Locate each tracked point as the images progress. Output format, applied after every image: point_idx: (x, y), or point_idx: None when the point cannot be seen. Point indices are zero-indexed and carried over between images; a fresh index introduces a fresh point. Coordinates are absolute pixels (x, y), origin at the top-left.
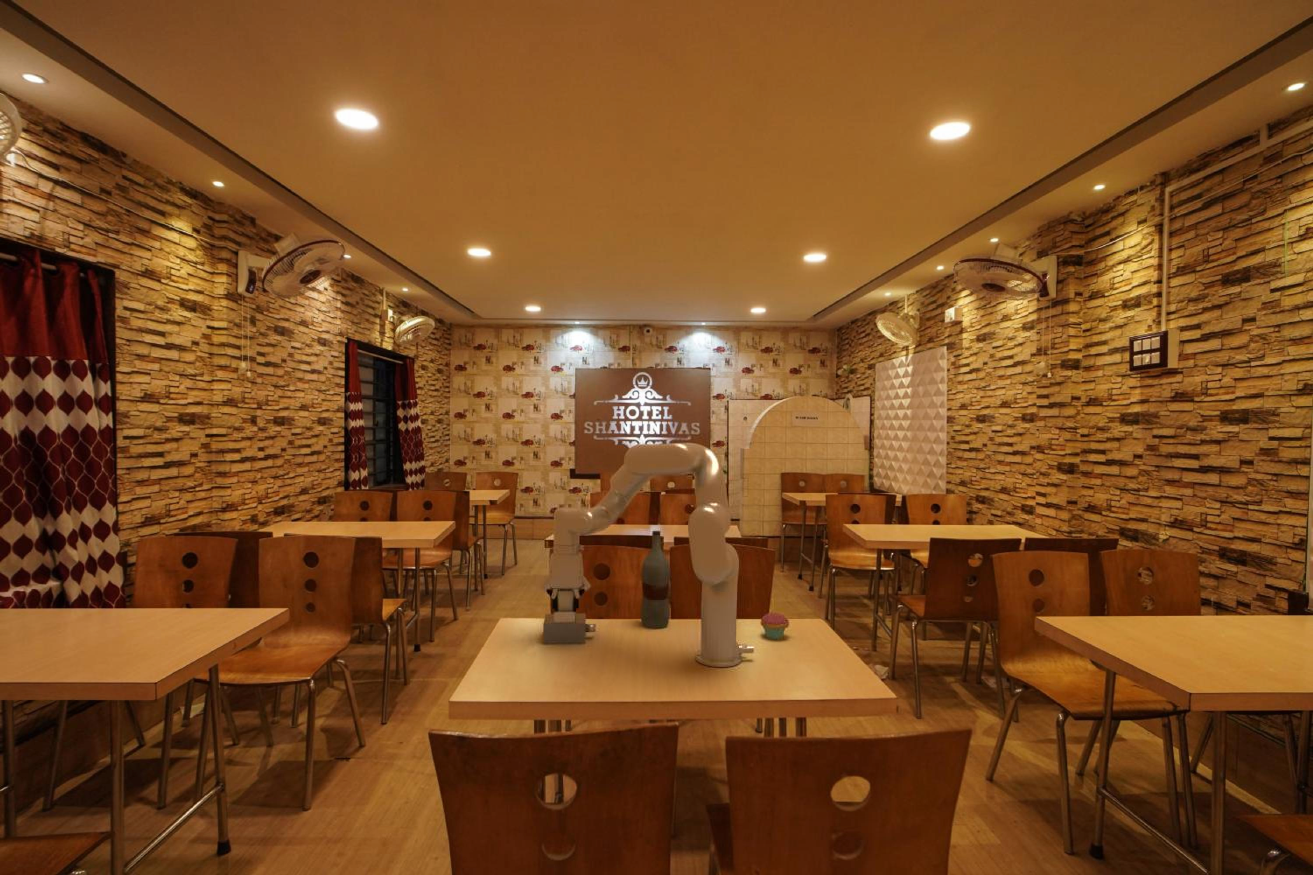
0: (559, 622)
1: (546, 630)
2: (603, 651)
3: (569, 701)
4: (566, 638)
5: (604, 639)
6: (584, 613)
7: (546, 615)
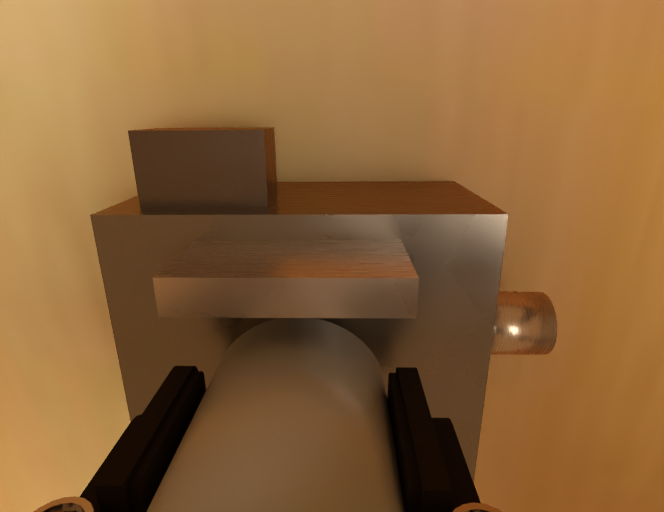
0: None
1: None
2: (523, 490)
3: None
4: None
5: (564, 317)
6: (493, 214)
7: (110, 268)
